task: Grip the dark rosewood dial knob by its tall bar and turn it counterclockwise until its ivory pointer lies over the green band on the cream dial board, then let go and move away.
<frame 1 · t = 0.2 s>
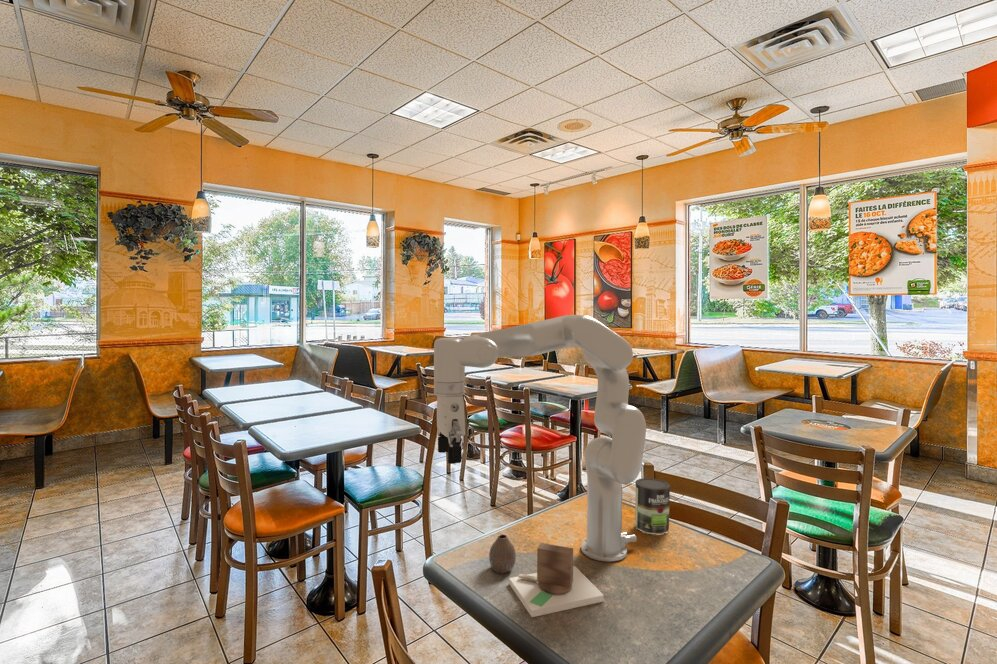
hand: (449, 457, 121), 31 cm above the table, tool pointing down, fingers open, 9 cm apart
dial knob: (544, 564, 118), point 6 cm above the table, hinge at -40.0°
coffee can: (651, 528, 153), on the table
vase: (502, 570, 128), on the table
dial board: (554, 592, 117), on the table
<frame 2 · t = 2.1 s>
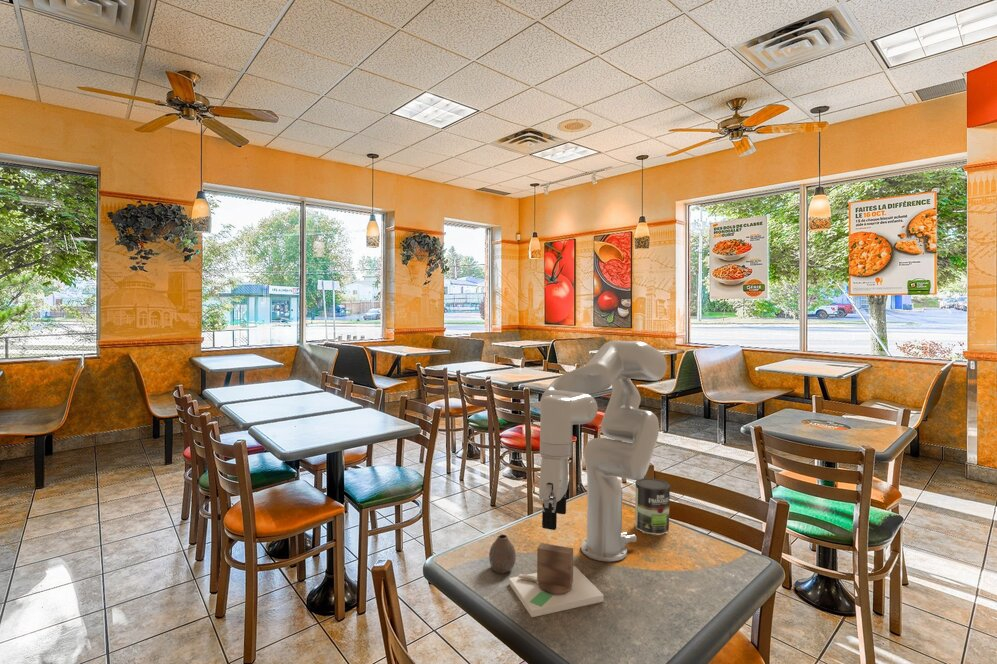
hand: (554, 520, 116), 18 cm above the table, tool pointing down, fingers open, 9 cm apart
nothing on the table moved.
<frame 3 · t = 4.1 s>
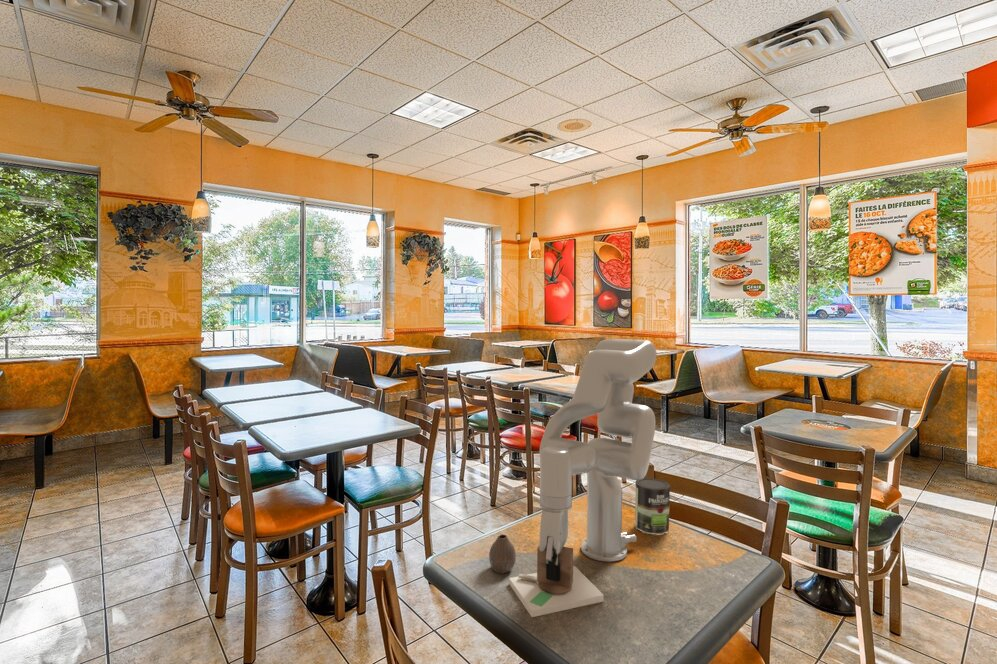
hand: (555, 575, 117), 4 cm above the table, tool pointing down, fingers closed on dial knob, 3 cm apart
dial knob: (544, 564, 118), point 6 cm above the table, hinge at -40.0°, touching gripper
everything else where it was.
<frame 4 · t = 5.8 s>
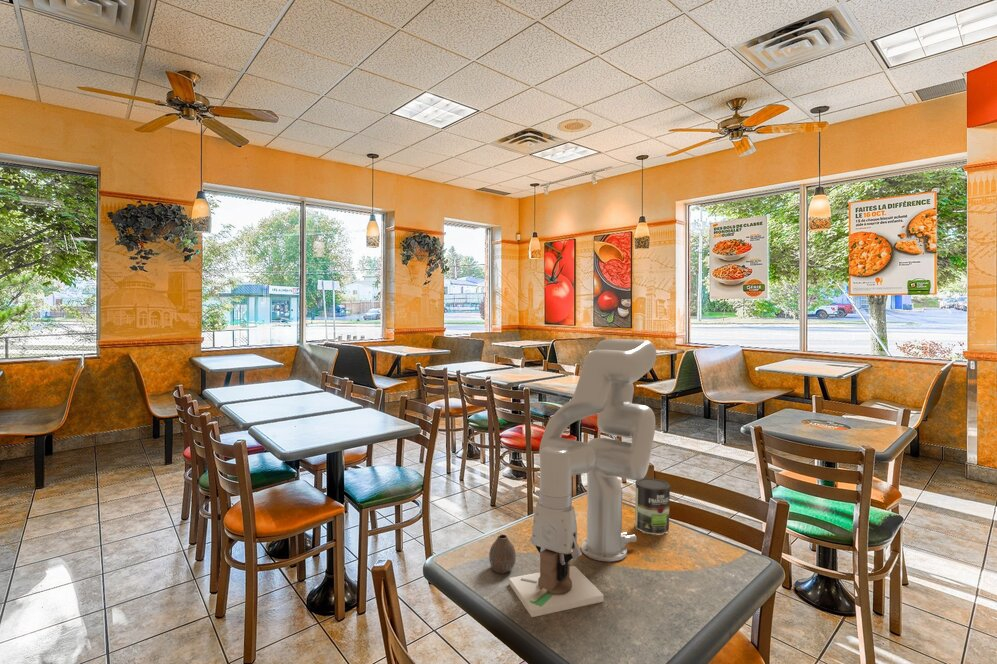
hand: (554, 575, 117), 4 cm above the table, tool pointing down, fingers closed on dial knob, 3 cm apart
dial knob: (549, 570, 115), point 6 cm above the table, hinge at 29.6°, touching gripper
everything else where it was.
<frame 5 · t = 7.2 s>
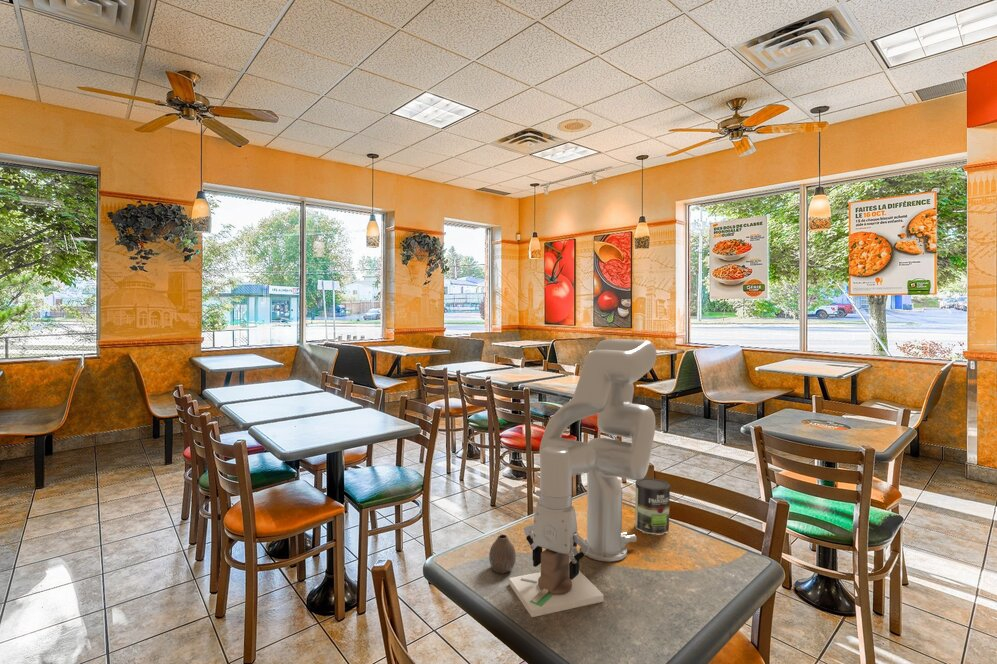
hand: (555, 570, 117), 5 cm above the table, tool pointing down, fingers open, 9 cm apart
dial knob: (549, 570, 115), point 6 cm above the table, hinge at 33.1°
everything else where it was.
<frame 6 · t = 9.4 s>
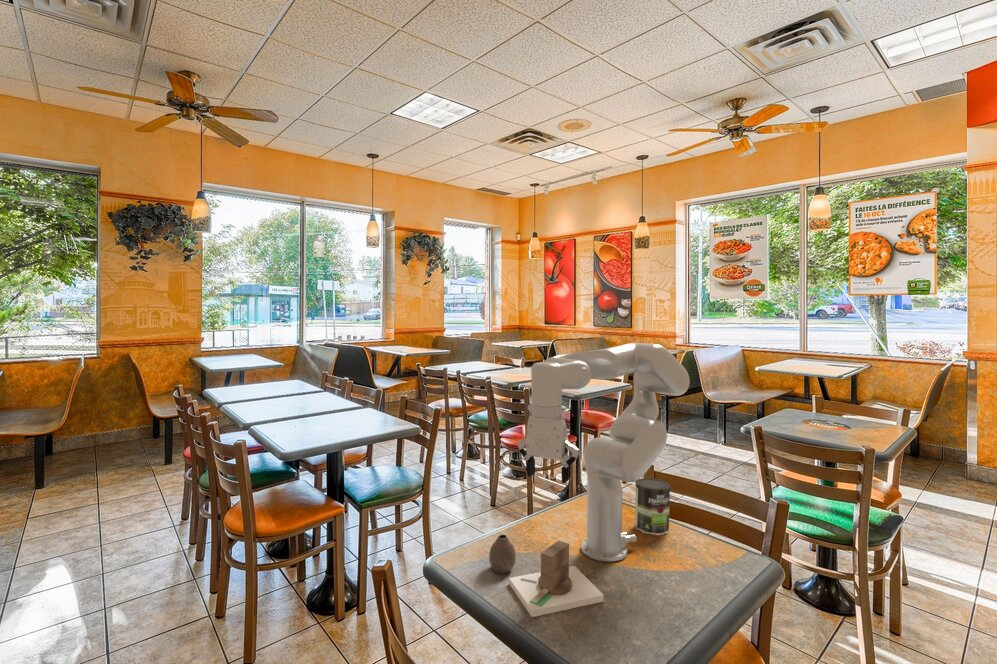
hand: (548, 478, 125), 25 cm above the table, tool pointing down, fingers open, 9 cm apart
dial knob: (549, 570, 115), point 6 cm above the table, hinge at 33.4°
everything else where it was.
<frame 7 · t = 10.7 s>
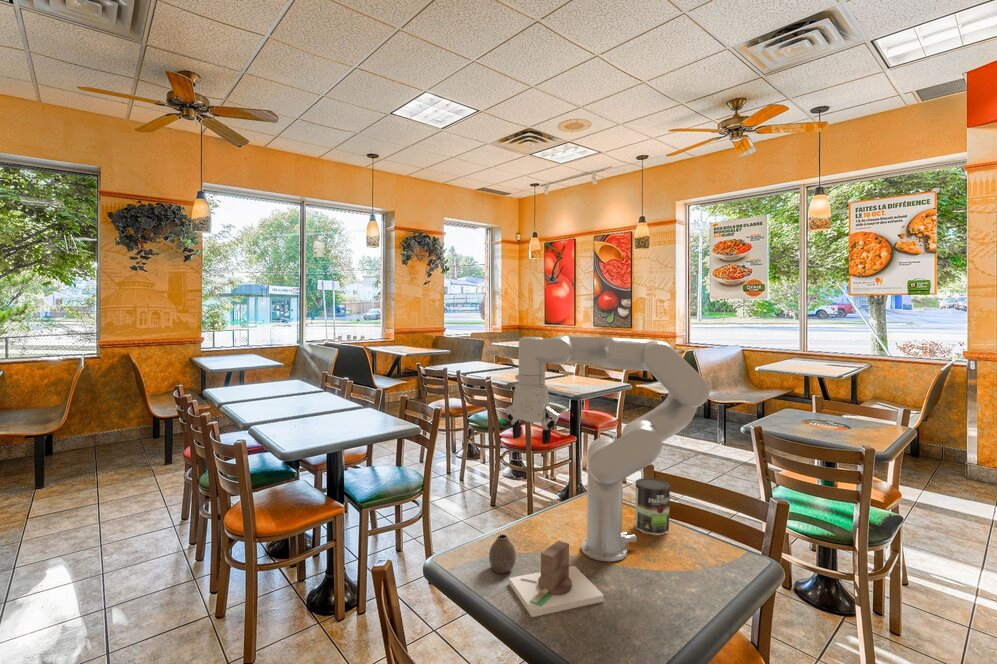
hand: (531, 440, 140), 30 cm above the table, tool pointing down, fingers open, 9 cm apart
nothing on the table moved.
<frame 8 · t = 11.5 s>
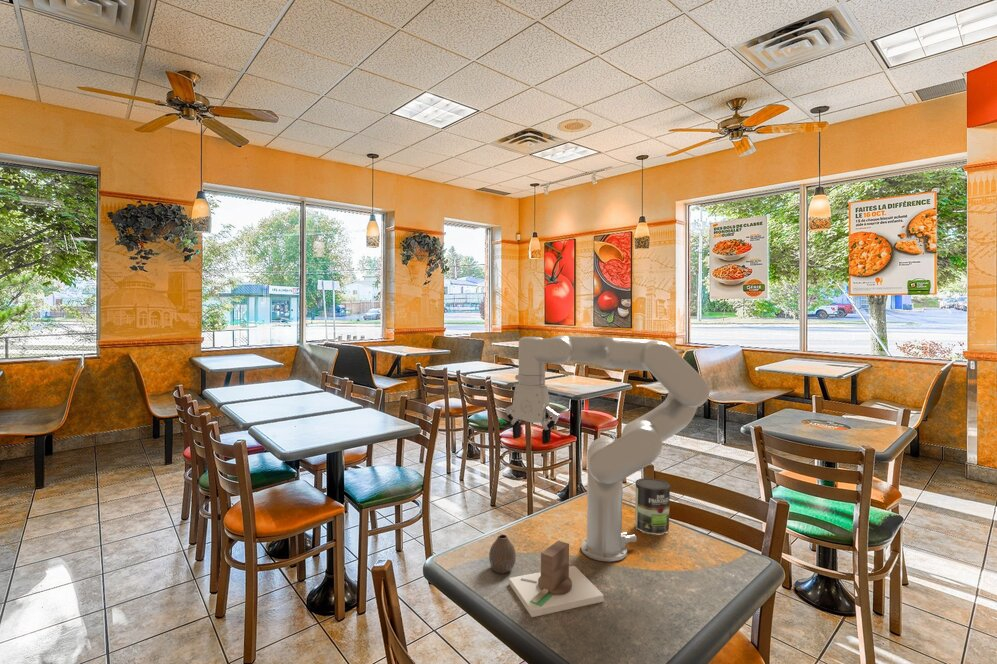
hand: (531, 440, 140), 30 cm above the table, tool pointing down, fingers open, 9 cm apart
nothing on the table moved.
at the end: dial knob at +33° (first picture: -40°); the gripper is holding nothing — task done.
